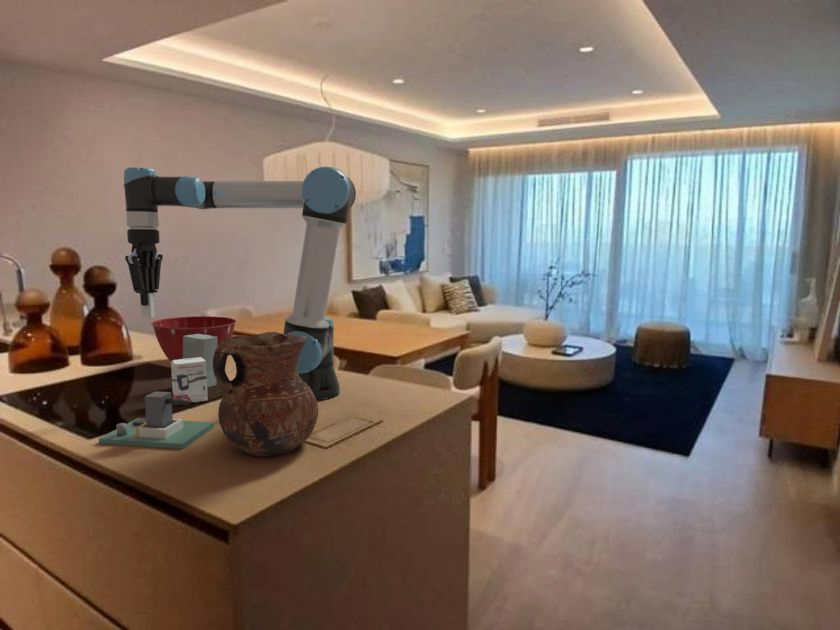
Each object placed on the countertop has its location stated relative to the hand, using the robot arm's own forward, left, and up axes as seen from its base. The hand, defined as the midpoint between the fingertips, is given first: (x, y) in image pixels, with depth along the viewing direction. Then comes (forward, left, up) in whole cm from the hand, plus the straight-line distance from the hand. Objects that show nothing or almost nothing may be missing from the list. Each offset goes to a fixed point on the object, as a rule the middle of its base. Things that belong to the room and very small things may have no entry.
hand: (148, 317), depth 147 cm
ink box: (-8, -5, -25) cm, 26 cm away
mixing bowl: (+14, -48, -25) cm, 56 cm away
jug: (-43, +23, -25) cm, 55 cm away
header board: (-15, +21, -24) cm, 36 cm away
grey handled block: (-18, +22, -23) cm, 37 cm away
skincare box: (-3, -20, -25) cm, 32 cm away
